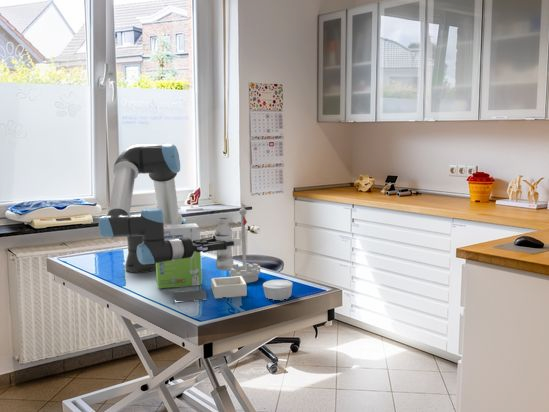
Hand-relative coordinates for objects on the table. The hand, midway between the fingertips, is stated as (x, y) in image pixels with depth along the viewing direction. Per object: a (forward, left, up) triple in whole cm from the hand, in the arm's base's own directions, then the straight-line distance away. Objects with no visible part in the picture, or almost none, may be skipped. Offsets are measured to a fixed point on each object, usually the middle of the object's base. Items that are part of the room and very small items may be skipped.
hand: (235, 240), depth 224 cm
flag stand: (+5, +15, -20) cm, 26 cm away
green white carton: (-22, +16, -20) cm, 34 cm away
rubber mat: (-19, -3, -20) cm, 28 cm away
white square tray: (-4, -2, -20) cm, 20 cm away
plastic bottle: (-5, -2, -11) cm, 12 cm away
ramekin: (+13, -13, -20) cm, 27 cm away
